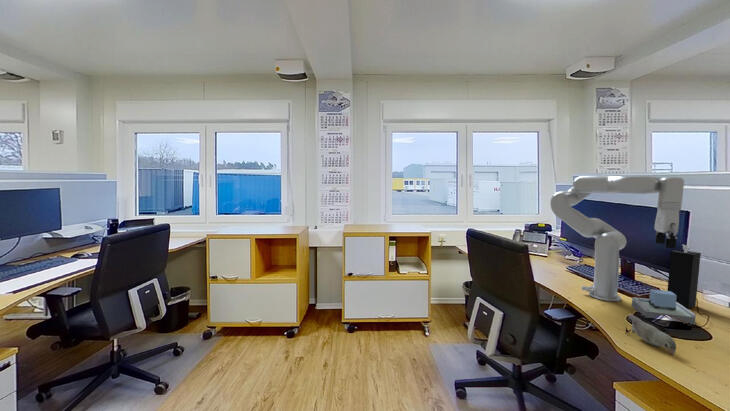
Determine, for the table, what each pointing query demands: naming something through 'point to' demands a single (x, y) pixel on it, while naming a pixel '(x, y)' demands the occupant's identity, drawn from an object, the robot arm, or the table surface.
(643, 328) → the decorative bird
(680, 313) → the dock
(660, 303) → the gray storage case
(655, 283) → the table surface
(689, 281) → the black tall block
